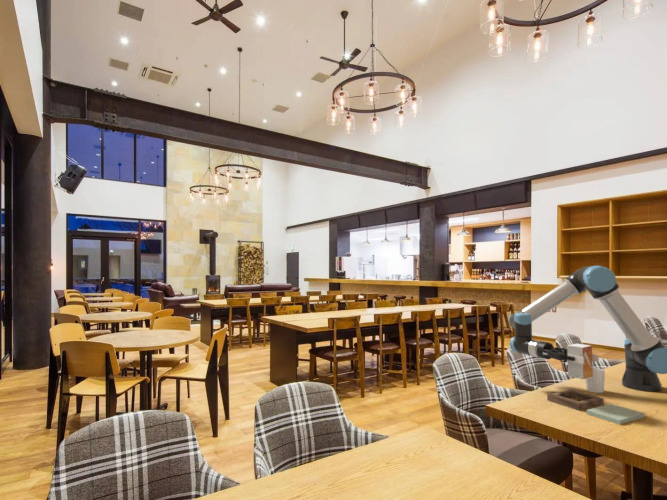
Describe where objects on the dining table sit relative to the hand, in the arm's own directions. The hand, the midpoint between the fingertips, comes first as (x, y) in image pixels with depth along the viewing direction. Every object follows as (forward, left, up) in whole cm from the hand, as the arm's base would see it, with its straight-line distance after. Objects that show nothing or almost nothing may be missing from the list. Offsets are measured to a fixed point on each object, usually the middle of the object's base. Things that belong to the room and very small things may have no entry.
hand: (590, 359), depth 161 cm
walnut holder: (-1, -8, -20) cm, 21 cm away
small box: (0, -5, -8) cm, 9 cm away
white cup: (-25, -14, -20) cm, 35 cm away
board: (0, +8, -20) cm, 22 cm away
